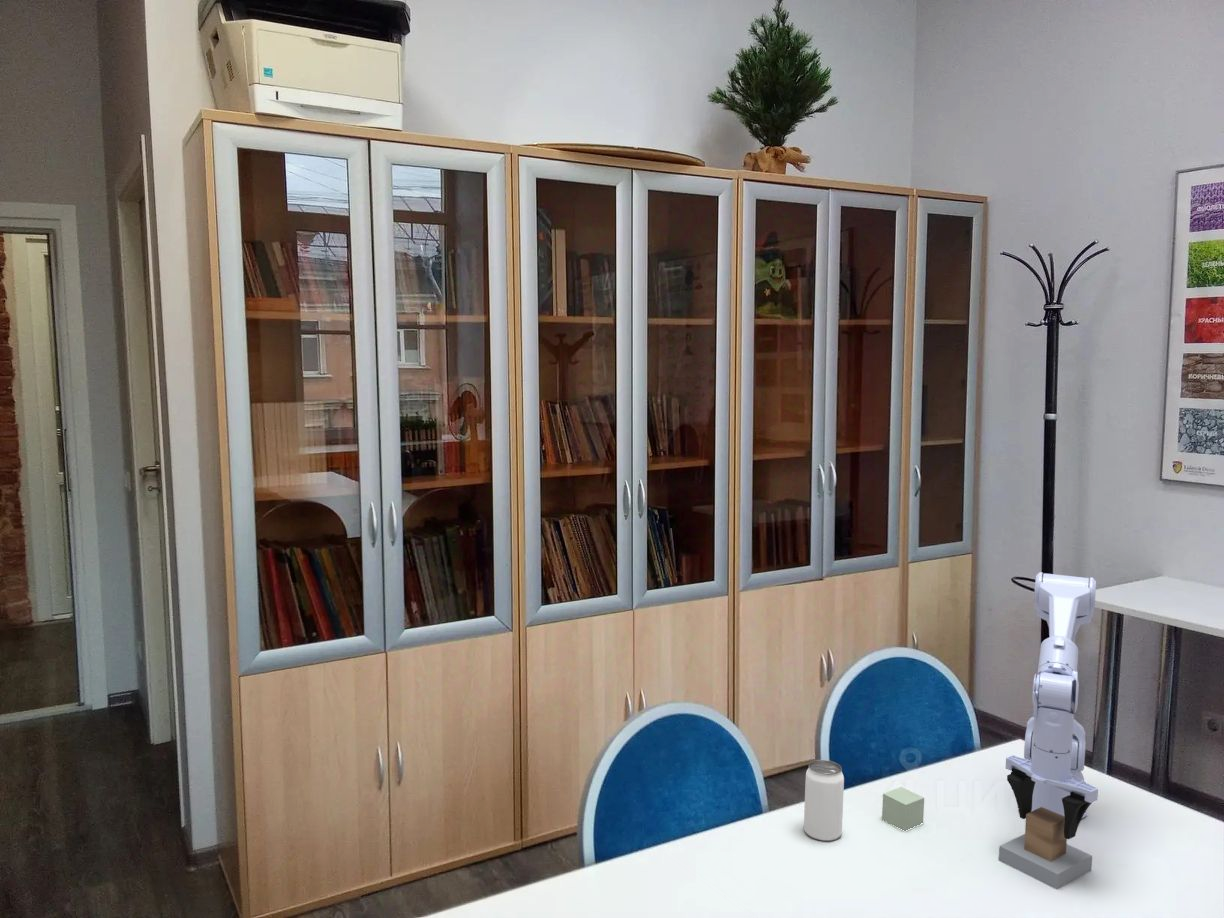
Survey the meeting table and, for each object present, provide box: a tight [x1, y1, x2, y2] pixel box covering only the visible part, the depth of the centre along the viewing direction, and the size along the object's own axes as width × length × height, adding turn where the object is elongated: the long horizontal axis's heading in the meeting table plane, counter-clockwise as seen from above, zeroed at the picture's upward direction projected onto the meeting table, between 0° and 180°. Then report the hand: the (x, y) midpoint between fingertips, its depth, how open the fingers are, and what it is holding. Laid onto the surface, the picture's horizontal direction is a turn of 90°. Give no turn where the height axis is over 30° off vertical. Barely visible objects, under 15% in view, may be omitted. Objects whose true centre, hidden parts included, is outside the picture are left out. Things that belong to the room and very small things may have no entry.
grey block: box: [998, 833, 1093, 890], centre depth 149 cm, size 10×10×3 cm
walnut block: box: [1024, 807, 1068, 861], centre depth 148 cm, size 4×4×6 cm
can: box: [803, 759, 845, 842], centre depth 158 cm, size 6×6×12 cm
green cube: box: [881, 786, 925, 832], centre depth 162 cm, size 5×5×5 cm
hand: (1046, 826), depth 148 cm, fingers open, 7 cm apart
